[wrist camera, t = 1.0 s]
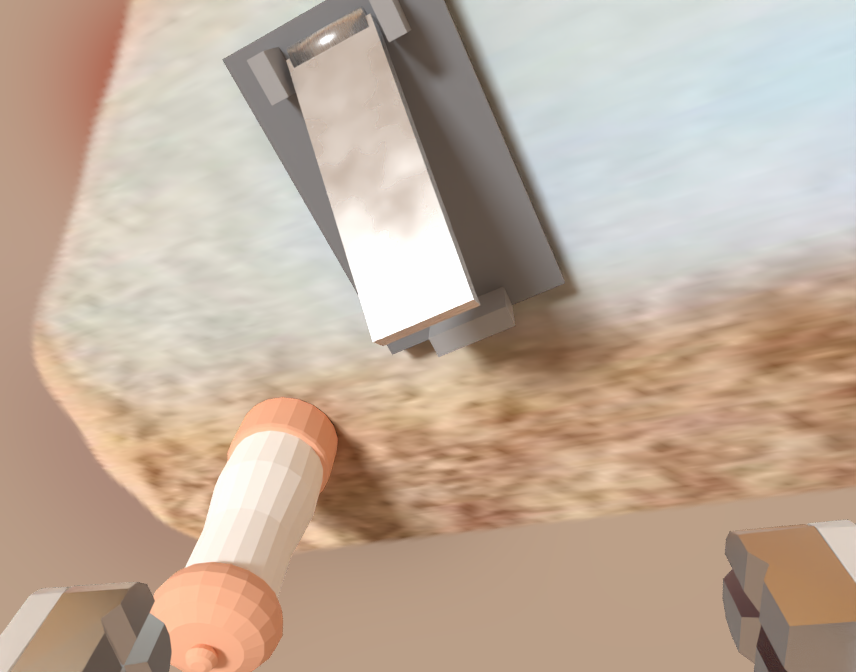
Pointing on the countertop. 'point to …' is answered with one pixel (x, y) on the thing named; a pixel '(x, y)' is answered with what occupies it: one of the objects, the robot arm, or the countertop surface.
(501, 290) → the clamp board
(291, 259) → the countertop surface
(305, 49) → the clamp lever
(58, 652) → the robot arm
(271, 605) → the pepper shaker
